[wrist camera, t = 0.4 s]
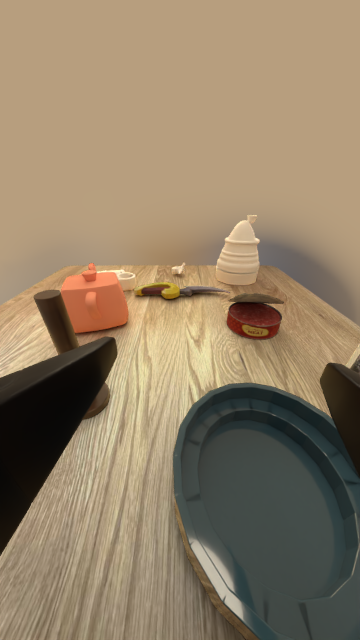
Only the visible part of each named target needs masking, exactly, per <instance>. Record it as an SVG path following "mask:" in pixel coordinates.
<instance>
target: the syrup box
mask: <svg viewBox="0 0 360 640" xmlns="http://www.w3.org/2000/svg"><path fill="white" fill-rule="evenodd" d="M346 367H348V368H350V369H351V370H353V371H355V372H357V373H359V374H360V344H359V345H358V347H357V349H356V350H355V352H354V353H353V355H352V356H351V358H350V359H349V361H348V362H347V364H346Z"/></svg>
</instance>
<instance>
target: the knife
mask: <svg viewBox="0 0 360 640" xmlns="http://www.w3.org/2000/svg"><path fill="white" fill-rule="evenodd" d="M185 287H186V288H185V289H179V288H178V286H177V285H175V284H173V283H170V282H167V283H164V282H158V283H152V284H148V285H143V286H138V287H135V289H134V292H135V294H138V295H141V296H142V295H145V294H162V296H163V297H164V298H167V299H172V298H176V297H178V296H179V295H180V294H185V295H188V296H191V295H192V294H193V293H197V292H227V293H230V292H228V291H226V290H222V289H219V288H215V287H208V286H185Z"/></svg>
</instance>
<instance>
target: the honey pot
mask: <svg viewBox="0 0 360 640" xmlns="http://www.w3.org/2000/svg"><path fill="white" fill-rule="evenodd" d="M256 218H257V215H248V221H241V222H240V223H238V224H237V225H236V227H235V228H234V229H233V231H232V232H231V234H230V236H229V237H227V238H225V242H226V243H225V246H224V248H223V249H222V253H221V254H220V258H219V259H218V261H217V268H216V279H217V280H218V281H220V282H223V283H226V284H231V285H250V284H253V283H255V282H256V278H257V274H258V269H259V261H258V259H259V257H258V251H257V244H259V242H260V240H259V239H257V238H255V235H254V231H253V229H252V227H251V225H250V223H253V222H254V221H255V220H256Z"/></svg>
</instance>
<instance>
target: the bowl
mask: <svg viewBox="0 0 360 640" xmlns="http://www.w3.org/2000/svg"><path fill="white" fill-rule="evenodd" d="M173 476H174V501H175V515H176V518H177V522H178V525H179V529H180V532H181V536H182V539H183V543H184V547H185V550H186V554H187V557H188V559H189V561H190V563H191V565H192V567H193V569H194V570H195V572H196V574H197V576H198V578H199V579H200V581H201V583H202V585H203V586H204V588H205V590H206V592H207V594H208V595H209V597H210V599H211V601H212V603H213V604H214V606H215V607H216V609H217V610H218V611H219V612H220V613H221V614H222V615H223V616H224V617H225V618H226V619H227V620H228V621H229V622H230V623H231V624H232V625H233V626H234V627H235V628H236V629H237V630H238V631H239V632H240V633H241V634H242V635H243V636H244V637H245V638H246V639H247V640H360V478H359V476H358V474H357V471H356V469H355V467H354V465H353V463H352V461H351V459H350V456H349V454H348V452H347V450H346V448H345V446H344V444H343V441H342V439H341V437H340V435H339V433H338V431H337V429H336V426H335V424H334V422H333V419H332V418H331V417H330V416H328V415H327V414H326V413H324V412H323V411H321V410H319V409H318V408H316V407H315V406H313V405H311V404H310V403H308V402H307V401H305V400H304V399H302V398H300V397H298V396H296V395H293V394H291V393H288V392H286V391H283V390H281V389H278V388H276V387H272V386H267V385H261V384H256V383H236V384H228V385H225V386H222V387H219V388H217V389H214V390H211V391H209V392H208V393H207V394H205V395H204V396H203V397H202V398H201V399H199V400H198V401H197V402H196V403H194V404H193V405H192V407H191V408H190V410H189V412H188V413H187V415H186V417H185V418H184V420H183V421H182V423H181V425H180V428H179V432H178V436H177V440H176V444H175V448H174V452H173Z"/></svg>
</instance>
